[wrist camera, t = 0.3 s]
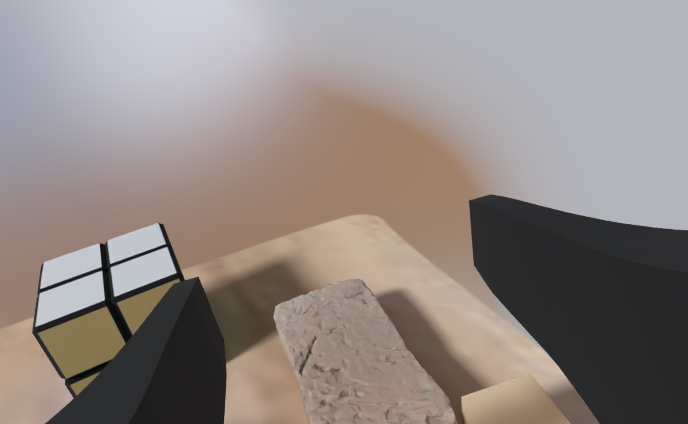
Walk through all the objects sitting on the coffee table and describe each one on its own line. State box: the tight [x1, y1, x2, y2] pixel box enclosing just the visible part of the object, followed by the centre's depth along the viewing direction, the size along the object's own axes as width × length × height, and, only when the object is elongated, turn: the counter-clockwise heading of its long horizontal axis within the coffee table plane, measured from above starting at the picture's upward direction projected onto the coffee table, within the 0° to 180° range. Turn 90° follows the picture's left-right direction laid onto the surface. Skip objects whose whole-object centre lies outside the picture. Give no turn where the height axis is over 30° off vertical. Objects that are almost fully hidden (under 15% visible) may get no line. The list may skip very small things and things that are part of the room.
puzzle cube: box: [32, 223, 185, 398], centre depth 38 cm, size 10×10×10 cm
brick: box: [273, 279, 458, 424], centre depth 34 cm, size 17×8×5 cm, turn 20°
